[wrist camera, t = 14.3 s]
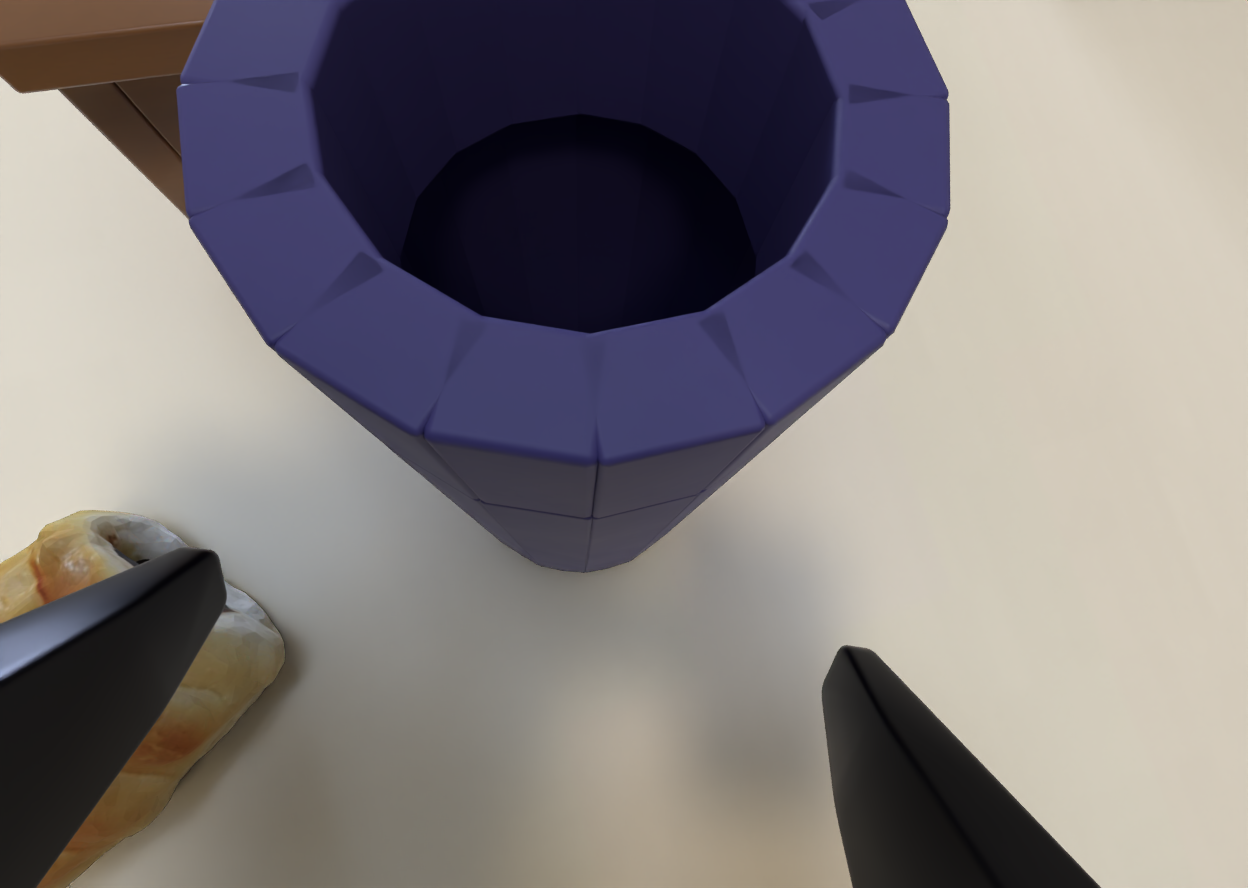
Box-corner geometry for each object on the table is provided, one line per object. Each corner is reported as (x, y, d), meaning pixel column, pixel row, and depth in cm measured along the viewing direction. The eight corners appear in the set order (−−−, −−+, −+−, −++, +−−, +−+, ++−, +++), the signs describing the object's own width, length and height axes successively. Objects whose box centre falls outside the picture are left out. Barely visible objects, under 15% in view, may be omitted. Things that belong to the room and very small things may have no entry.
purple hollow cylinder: (729, 486, 17) (1104, 180, 5) (555, 618, 16) (466, 654, 4) (604, 328, 19) (653, -252, 6) (431, 439, 17) (35, -9, 5)
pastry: (27, 1005, 13) (-188, 1158, 9) (-179, 814, 14) (-454, 887, 10) (324, 638, 16) (244, 646, 12) (135, 491, 16) (5, 456, 13)
